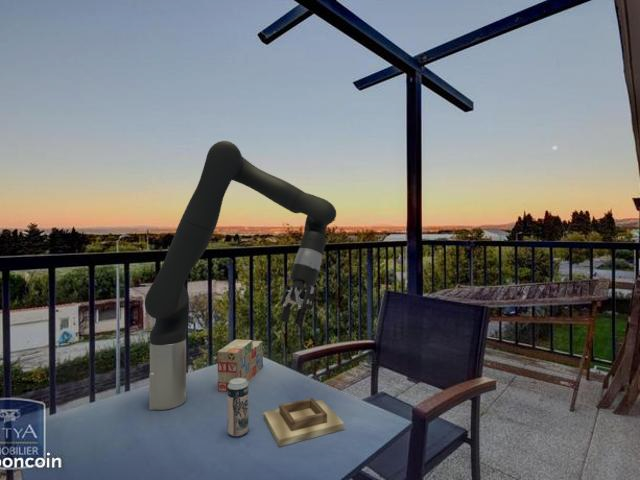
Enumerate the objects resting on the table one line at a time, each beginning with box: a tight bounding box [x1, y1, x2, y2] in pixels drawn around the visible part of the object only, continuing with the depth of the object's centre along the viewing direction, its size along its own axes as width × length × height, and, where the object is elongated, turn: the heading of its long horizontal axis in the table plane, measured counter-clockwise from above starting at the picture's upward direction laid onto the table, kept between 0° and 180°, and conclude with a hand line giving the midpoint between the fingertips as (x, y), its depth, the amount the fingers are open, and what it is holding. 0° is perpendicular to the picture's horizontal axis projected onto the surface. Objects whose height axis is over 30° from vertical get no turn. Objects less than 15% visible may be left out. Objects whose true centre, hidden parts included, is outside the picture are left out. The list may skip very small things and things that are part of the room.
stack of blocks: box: [217, 339, 264, 393], centre depth 110 cm, size 21×6×12 cm, turn 169°
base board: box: [263, 397, 345, 447], centre depth 82 cm, size 16×13×4 cm
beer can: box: [227, 377, 250, 437], centre depth 78 cm, size 5×5×12 cm
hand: (290, 323), depth 91 cm, fingers open, 8 cm apart
